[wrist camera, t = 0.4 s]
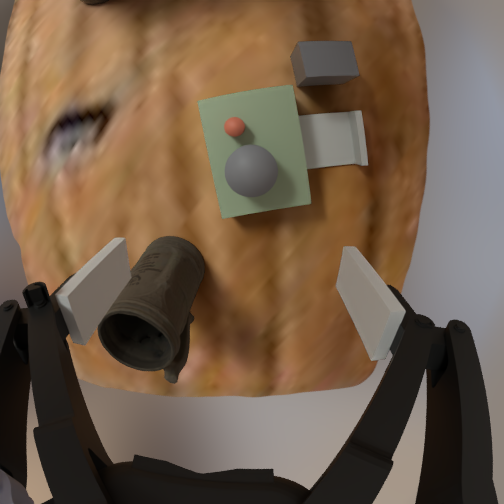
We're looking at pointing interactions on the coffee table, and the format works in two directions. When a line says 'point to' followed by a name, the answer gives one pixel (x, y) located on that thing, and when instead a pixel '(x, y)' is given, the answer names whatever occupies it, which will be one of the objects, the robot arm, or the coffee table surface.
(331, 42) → the tall grey cuboid
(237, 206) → the green base with dome
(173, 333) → the beer stein
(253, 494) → the robot arm
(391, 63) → the coffee table surface
